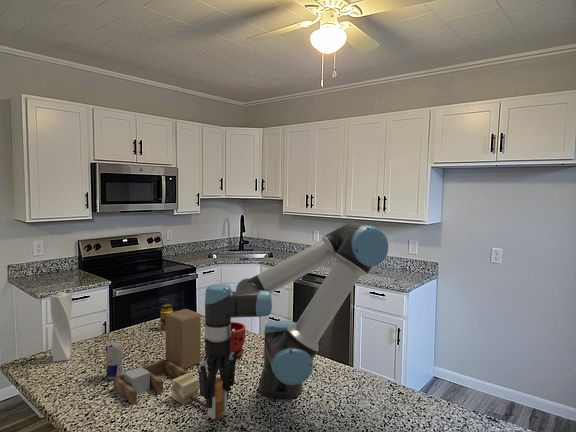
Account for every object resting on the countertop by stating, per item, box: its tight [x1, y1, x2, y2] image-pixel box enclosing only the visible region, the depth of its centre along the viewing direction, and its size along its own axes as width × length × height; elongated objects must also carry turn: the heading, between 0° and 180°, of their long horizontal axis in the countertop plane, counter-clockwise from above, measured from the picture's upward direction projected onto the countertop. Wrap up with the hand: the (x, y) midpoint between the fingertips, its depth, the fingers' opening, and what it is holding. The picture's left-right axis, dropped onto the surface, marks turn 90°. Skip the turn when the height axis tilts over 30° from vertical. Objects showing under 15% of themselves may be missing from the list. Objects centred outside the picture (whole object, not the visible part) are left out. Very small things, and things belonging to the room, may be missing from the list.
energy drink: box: [105, 341, 124, 381], centre depth 138 cm, size 5×5×12 cm
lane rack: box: [113, 358, 188, 406], centre depth 133 cm, size 14×20×4 cm
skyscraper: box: [47, 287, 74, 364], centre depth 151 cm, size 8×8×28 cm
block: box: [123, 366, 151, 395], centre depth 130 cm, size 6×6×6 cm
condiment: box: [156, 303, 174, 333], centre depth 186 cm, size 7×8×12 cm
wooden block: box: [165, 308, 202, 370], centre depth 150 cm, size 10×10×20 cm
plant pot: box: [230, 321, 246, 358], centre depth 159 cm, size 13×13×12 cm
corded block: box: [171, 373, 224, 421], centre depth 121 cm, size 20×6×11 cm, turn 51°
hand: (217, 413), depth 115 cm, fingers closed on corded block, 3 cm apart
